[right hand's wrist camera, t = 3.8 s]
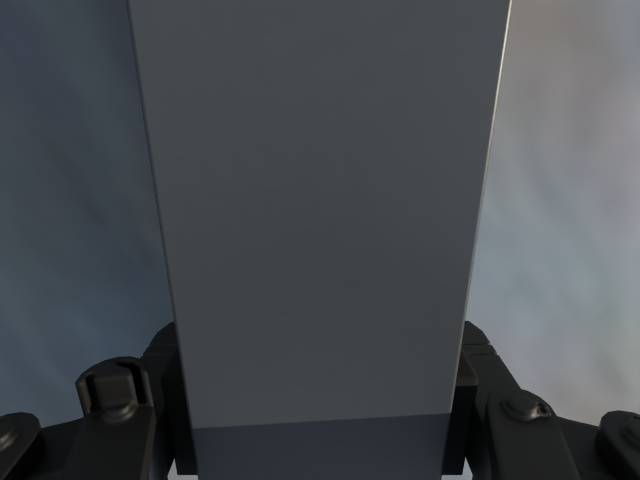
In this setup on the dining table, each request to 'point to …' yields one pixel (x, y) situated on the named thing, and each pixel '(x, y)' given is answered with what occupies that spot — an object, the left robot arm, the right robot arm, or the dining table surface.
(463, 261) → the beam
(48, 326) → the dining table surface
